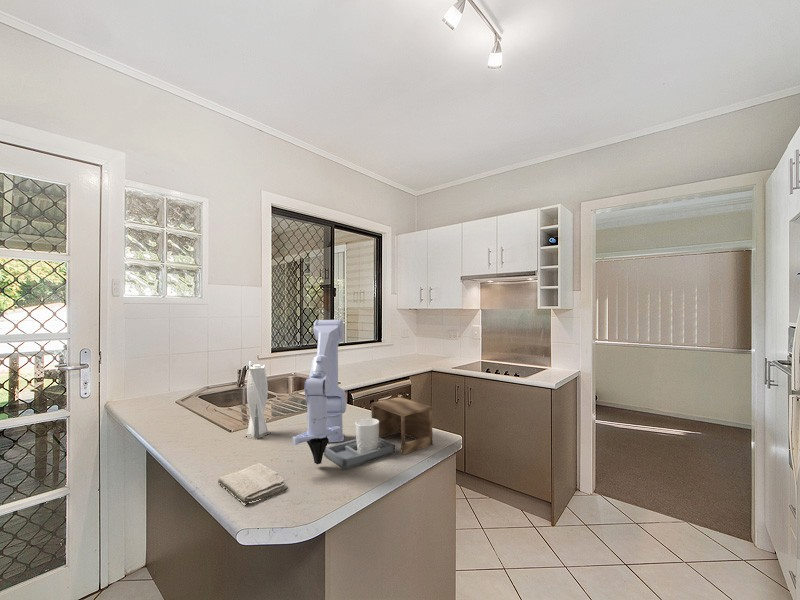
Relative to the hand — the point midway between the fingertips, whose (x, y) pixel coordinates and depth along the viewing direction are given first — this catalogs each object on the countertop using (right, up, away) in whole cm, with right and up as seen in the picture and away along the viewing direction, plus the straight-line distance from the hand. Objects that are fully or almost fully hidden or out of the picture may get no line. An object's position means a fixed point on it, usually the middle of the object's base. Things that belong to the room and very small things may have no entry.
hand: (317, 462), depth 106 cm
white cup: (+14, -2, +11) cm, 18 cm away
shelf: (+25, -1, +20) cm, 32 cm away
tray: (+12, -1, +9) cm, 15 cm away
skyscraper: (-30, -3, +29) cm, 42 cm away
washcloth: (-15, -2, -11) cm, 19 cm away
